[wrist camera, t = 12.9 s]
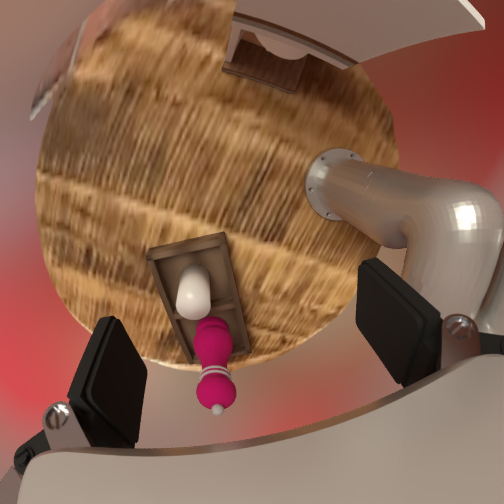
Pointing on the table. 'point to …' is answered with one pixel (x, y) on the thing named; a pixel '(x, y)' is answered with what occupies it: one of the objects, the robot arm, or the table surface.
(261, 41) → the spiral ramp tower
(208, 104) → the table surface
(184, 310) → the salt shaker
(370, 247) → the table surface
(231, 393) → the pepper mill
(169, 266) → the walnut cruet tray
